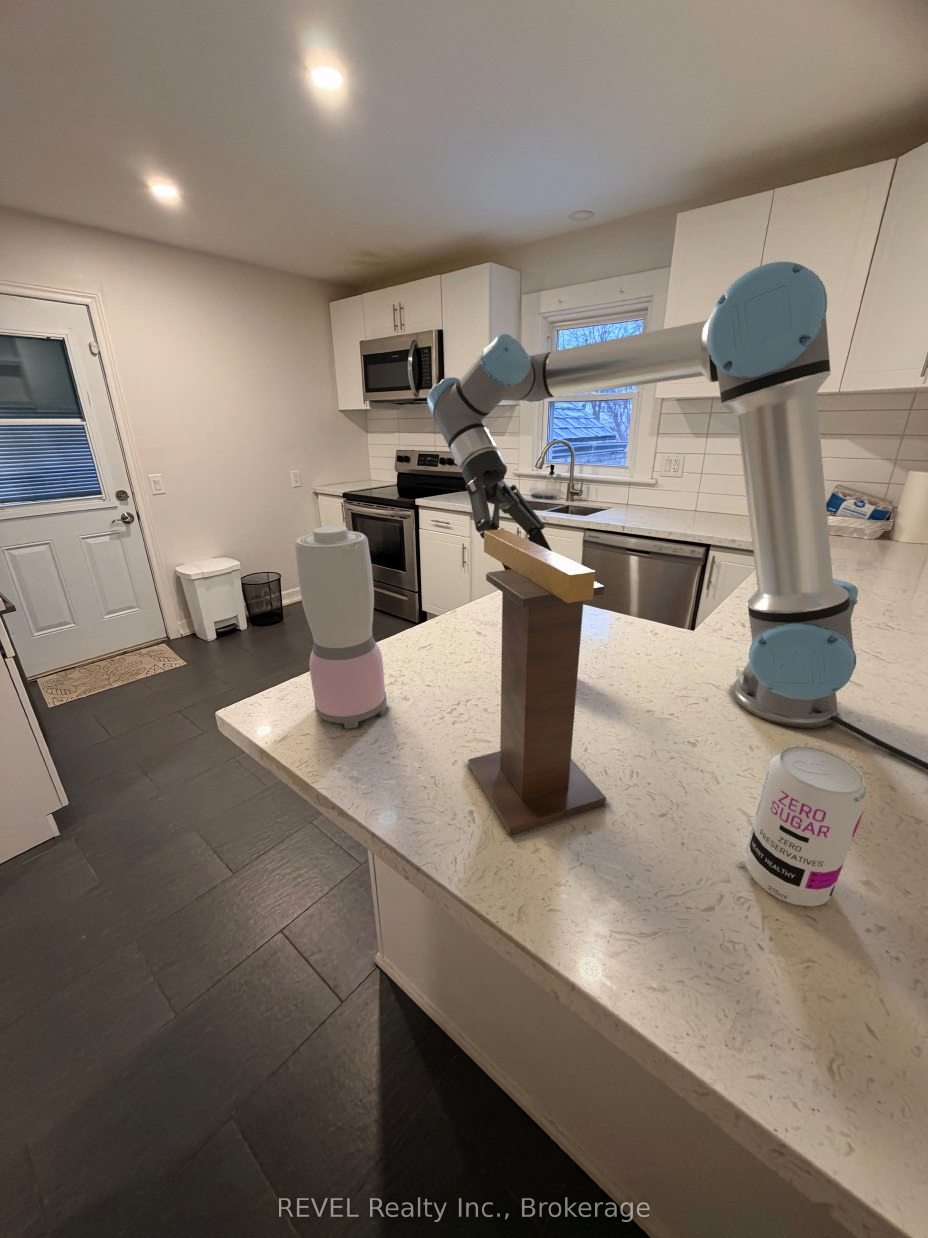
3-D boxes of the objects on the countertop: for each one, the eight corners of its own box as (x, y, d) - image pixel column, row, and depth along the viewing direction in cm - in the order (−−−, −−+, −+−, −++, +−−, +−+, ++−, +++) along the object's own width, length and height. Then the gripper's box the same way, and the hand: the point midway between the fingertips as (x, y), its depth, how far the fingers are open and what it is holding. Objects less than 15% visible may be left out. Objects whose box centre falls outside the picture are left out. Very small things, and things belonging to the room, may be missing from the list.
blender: (401, 709, 87) (387, 528, 75) (341, 739, 79) (314, 543, 67) (352, 678, 97) (333, 515, 85) (294, 702, 90) (264, 526, 77)
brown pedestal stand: (468, 765, 73) (464, 570, 61) (551, 743, 77) (563, 557, 66) (509, 835, 61) (514, 607, 49) (605, 804, 65) (631, 589, 53)
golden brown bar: (483, 551, 69) (483, 530, 68) (503, 549, 70) (503, 528, 69) (568, 603, 50) (569, 574, 49) (593, 599, 51) (595, 571, 50)
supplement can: (816, 856, 57) (854, 750, 51) (841, 921, 50) (887, 805, 44) (738, 839, 59) (765, 735, 54) (750, 898, 52) (783, 786, 46)
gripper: (499, 481, 100) (547, 573, 96) (420, 465, 79) (477, 581, 76) (528, 458, 95) (579, 553, 92) (452, 435, 75) (514, 557, 72)
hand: (533, 566), depth 84 cm, fingers open, 13 cm apart
